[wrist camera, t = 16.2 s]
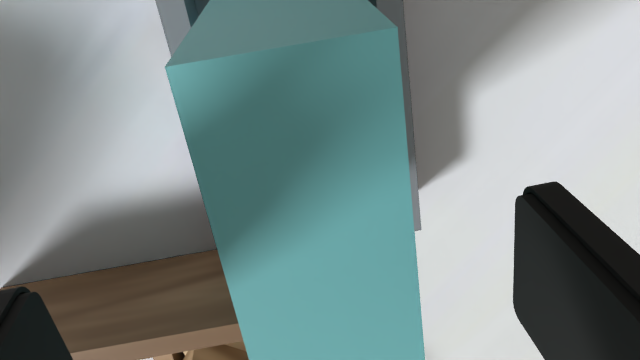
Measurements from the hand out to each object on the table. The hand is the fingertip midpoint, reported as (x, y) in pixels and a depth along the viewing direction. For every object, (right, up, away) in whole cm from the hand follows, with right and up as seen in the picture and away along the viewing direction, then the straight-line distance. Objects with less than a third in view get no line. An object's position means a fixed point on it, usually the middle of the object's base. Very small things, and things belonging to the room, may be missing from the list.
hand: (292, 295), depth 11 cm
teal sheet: (-1, +6, +13) cm, 15 cm away
